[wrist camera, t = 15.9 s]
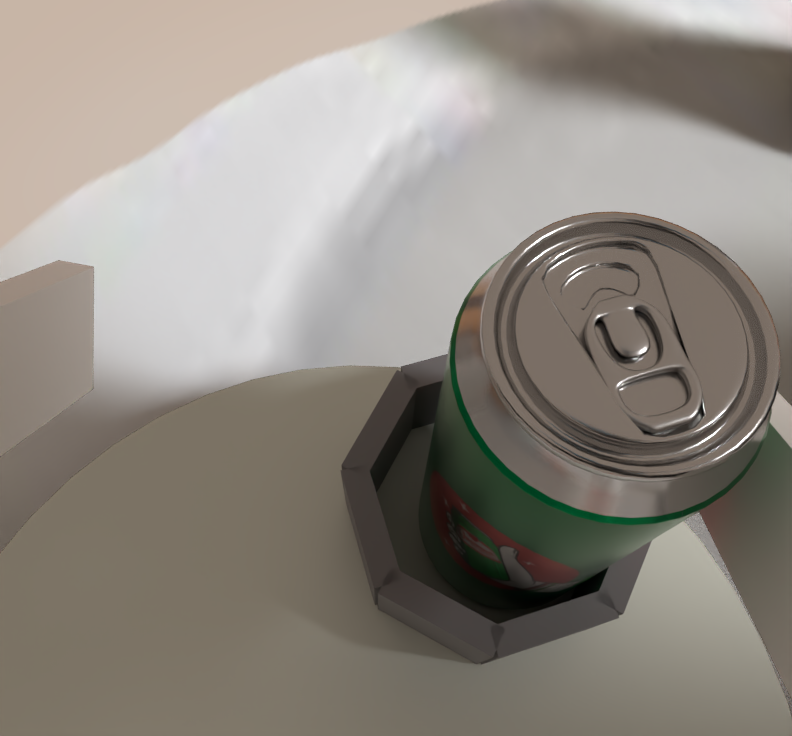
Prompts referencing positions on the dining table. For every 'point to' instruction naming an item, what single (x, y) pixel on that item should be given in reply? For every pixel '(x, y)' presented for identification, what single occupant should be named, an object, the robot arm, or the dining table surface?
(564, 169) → the dining table surface
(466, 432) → the soda can
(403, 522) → the dial
